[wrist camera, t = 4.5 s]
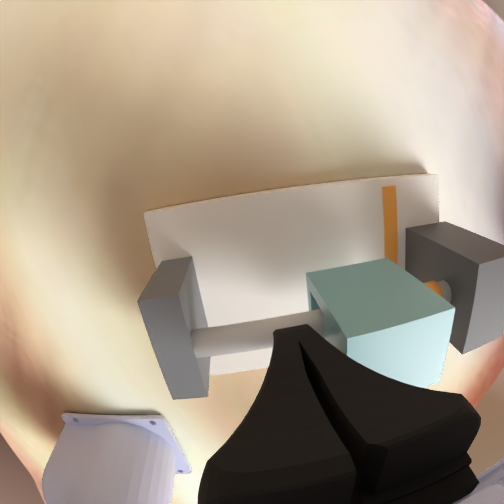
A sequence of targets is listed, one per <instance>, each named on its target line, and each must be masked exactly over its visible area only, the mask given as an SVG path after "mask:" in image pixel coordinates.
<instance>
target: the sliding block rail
mask: <svg viewBox="0 0 504 504" xmlns="http://www.w3.org/2000/svg"><path fill="white" fill-rule="evenodd" d="M143 215H144V220H145V225H146V229H147V234H148V238H149V242H150V247H151V251H152V255H153V259H154V263H155V267H156V271H155V273H154V274H153V276H152V278H151V279H150V281H149V282H148V284H147V286H146V287H145V289H144V291H143V292H142V294H141V296H140V298H139V299H138V301H137V302H138V305H139V308H140V311H141V314H142V317H143V320H144V323H145V326H146V329H147V332H148V335H149V338H150V341H151V344H152V347H153V350H154V352H155V355H156V358H157V360H158V363H159V366H160V368H161V371H162V374H163V376H164V379H165V381H166V384H167V386H168V389H169V391H170V394H171V396H172V398H173V400H175V399H189V398H200V397H208V388H209V376H210V375H219V374H227V373H234V372H241V371H248V370H255V369H261V368H267V367H269V363H270V359H271V355H272V350H273V341H274V339H273V332H274V331H275V330H276V329H282V328H287V327H293V326H298V325H303V324H308V325H309V326H311V327H312V328H313V329H314V330H315V331H316V332H317V333H319V334H320V335H321V336H322V337H323V338H324V337H325V334H324V314H323V312H322V310H321V309H317V310H312V311H309V307H308V294H307V282H306V273H307V272H313V271H319V270H324V269H330V268H335V267H341V266H346V265H352V264H357V263H362V262H368V261H373V260H378V259H383V258H389V259H390V260H391V261H393V262H394V263H396V264H397V265H399V266H400V267H401V268H403V269H404V270H406V271H407V272H408V273H410V274H411V275H413V276H414V277H415V278H417V279H418V280H419V281H421V282H422V283H424V284H425V285H426V286H428V287H429V288H430V289H432V290H433V291H434V292H436V293H437V294H438V295H440V296H441V297H442V298H444V299H445V300H446V301H448V302H449V303H450V304H451V305H453V306H454V307H455V314H454V319H453V325H452V330H451V335H450V340H449V342H450V343H451V344H452V345H453V346H454V347H455V348H456V349H457V350H458V351H459V352H460V353H461V354H465V353H467V352H469V351H471V350H474V349H476V348H478V347H480V346H482V345H484V344H486V343H488V342H491V341H493V340H495V339H497V338H499V337H501V336H502V335H503V332H504V245H502V244H499V243H497V242H495V241H492V240H490V239H488V238H485V237H483V236H481V235H478V234H476V233H473V232H471V231H468V230H466V229H463V228H461V227H458V226H455V225H453V224H450V223H448V222H439V186H438V175H436V174H429V173H427V174H412V175H399V176H387V177H376V178H365V179H355V180H345V181H336V182H327V183H319V184H311V185H303V186H295V187H287V188H280V189H273V190H266V191H259V192H252V193H246V194H239V195H233V196H227V197H221V198H215V199H209V200H203V201H197V202H192V203H186V204H181V205H175V206H170V207H165V208H159V209H154V210H149V211H147V212H146V213H144V214H143Z"/></svg>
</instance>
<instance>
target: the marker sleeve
mask: <svg viewBox="0 0 504 504" xmlns="http://www.w3.org/2000/svg"><path fill="white" fill-rule="evenodd" d="M306 282H307V294H308V307H309V311H312V310H317V309H321V310H322V312H323V314H324V334H325V337H324V339H326V340H327V341H328V342H329V343H331V344H332V345H333V346H335V347H336V348H337V349H339V350H340V351H341V352H343V353H344V354H346V355H347V356H348V357H350V358H352V359H353V360H355V361H356V362H358V363H360V364H362V365H363V366H365V367H367V368H369V369H371V370H373V371H375V372H377V373H380V374H382V375H384V376H387V377H389V378H392V379H395V380H397V381H400V382H403V383H406V384H410V385H413V386H417V387H421V388H425V387H428V386H430V385H433V384H435V383H437V382H439V381H440V377H441V374H442V370H443V366H444V362H445V358H446V354H447V349H448V345H449V340H450V335H451V330H452V325H453V319H454V314H455V307H454V306H453V305H451V304H450V303H449V302H448V301H446V300H445V299H444V298H442V297H441V296H440V295H438V294H437V293H436V292H434V291H433V290H432V289H430V288H429V287H428V286H426V285H425V284H424V283H422V282H421V281H419V280H418V279H417V278H415V277H414V276H413V275H411V274H410V273H408V272H407V271H406V270H404V269H403V268H401V267H400V266H399V265H397V264H396V263H394V262H393V261H391V260H390V259H389V258H383V259H378V260H373V261H368V262H362V263H357V264H352V265H346V266H341V267H335V268H330V269H324V270H319V271H313V272H307V273H306Z"/></svg>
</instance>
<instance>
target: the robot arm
mask: <svg viewBox="0 0 504 504" xmlns="http://www.w3.org/2000/svg"><path fill="white" fill-rule="evenodd" d="M273 339H274V341H273V350H272V355H271V359H270V363H269V367H268V370H267V373H266V376H265V379H264V381H263V384H262V386H261V389H260V391H259V393H258V395H257V397H256V399H255V401H254V403H253V405H252V406H251V408H250V410H249V412H248V413H247V415H246V416H245V418H244V419H243V421H242V422H241V424H240V425H239V426H238V427H237V429H236V430H235V431H234V433H233V434H232V435H231V437H230V438H229V439H228V440H227V441H226V443H225V444H224V445H223V446H222V447H221V448H220V449H219V450H218V451H217V452H216V453H215V454H214V455H213V456H212V457H211V458H210V459H209V460H208V461H207V463H206V466H205V469H204V472H203V475H202V478H201V482H200V487H199V492H198V504H504V458H503V459H502V460H500V461H499V462H497V463H496V464H495V465H493V466H491V467H490V468H488V469H487V470H486V471H484V472H482V473H481V474H479V475H478V476H475V475H474V473H473V471H472V470H471V468H470V467H469V465H470V463H471V458H470V457H469V455H468V453H467V451H468V449H469V447H470V445H471V444H472V442H473V440H474V438H475V436H476V435H477V432H478V430H479V427H480V424H481V417H480V416H479V414H478V413H477V411H476V410H475V409H474V408H473V406H472V405H471V404H470V403H469V402H468V400H467V399H466V398H465V397H464V396H463V395H462V394H457V393H449V392H441V391H434V390H429V389H425V388H421V387H417V386H413V385H410V384H406V383H403V382H400V381H397V380H395V379H392V378H389V377H387V376H384V375H382V374H380V373H377V372H375V371H373V370H371V369H369V368H367V367H365V366H363V365H362V364H360V363H358V362H356V361H355V360H353V359H352V358H350V357H348V356H347V355H346V354H344V353H343V352H341V351H340V350H339V349H337V348H336V347H335V346H333V345H332V344H331V343H329V342H328V341H327V340H326V339H324V338H323V337H322V336H321V335H320V334H319V333H317V332H316V331H315V330H314V329H313V328H312V327H311V326H309V325H308V324H303V325H298V326H293V327H287V328H282V329H276V330H275V331H274V332H273ZM62 419H63V421H64V422H65V426H64V428H63V430H62V432H61V434H60V436H59V438H58V441H57V443H56V445H55V447H54V449H53V451H52V454H51V456H50V458H49V460H48V463H47V465H46V467H45V469H44V473H43V478H42V490H43V495H44V499H45V501H46V503H47V504H172V495H173V486H174V477H175V474H189V473H191V472H192V468H191V466H190V464H189V462H188V461H187V459H186V457H185V455H184V453H183V452H182V450H181V448H180V446H179V444H178V442H177V440H176V438H175V436H174V434H173V432H172V430H171V428H170V426H169V424H168V422H167V420H166V419H165V418H164V417H163V416H161V415H93V414H77V413H63V414H62Z"/></svg>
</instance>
